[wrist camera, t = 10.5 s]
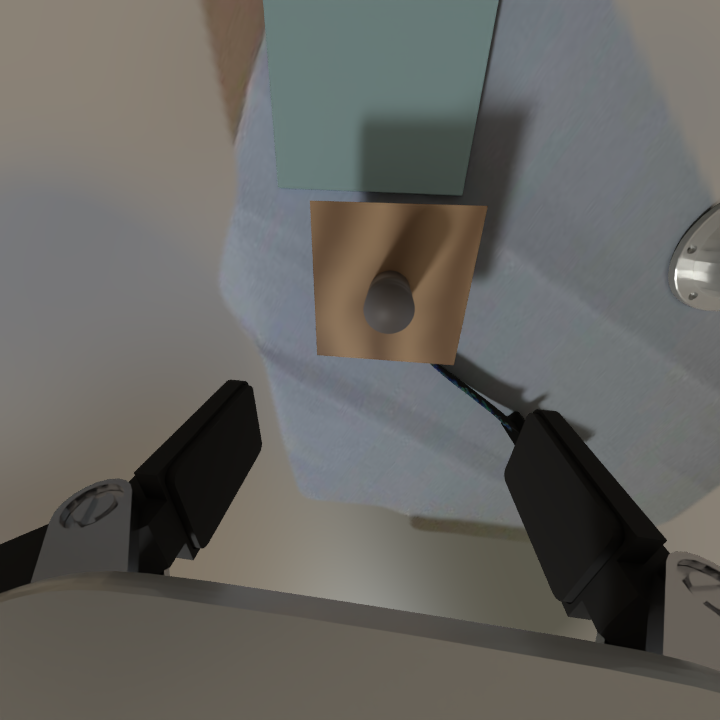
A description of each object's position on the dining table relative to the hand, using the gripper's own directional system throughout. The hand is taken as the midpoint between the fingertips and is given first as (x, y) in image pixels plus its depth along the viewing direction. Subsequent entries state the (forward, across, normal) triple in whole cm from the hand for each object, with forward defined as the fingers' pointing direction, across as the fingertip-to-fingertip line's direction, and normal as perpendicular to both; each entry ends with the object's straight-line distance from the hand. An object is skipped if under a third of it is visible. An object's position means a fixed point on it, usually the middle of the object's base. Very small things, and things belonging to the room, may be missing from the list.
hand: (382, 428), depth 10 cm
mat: (+28, +3, -17) cm, 33 cm away
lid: (+20, 0, 0) cm, 20 cm away
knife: (+28, -18, +18) cm, 38 cm away
